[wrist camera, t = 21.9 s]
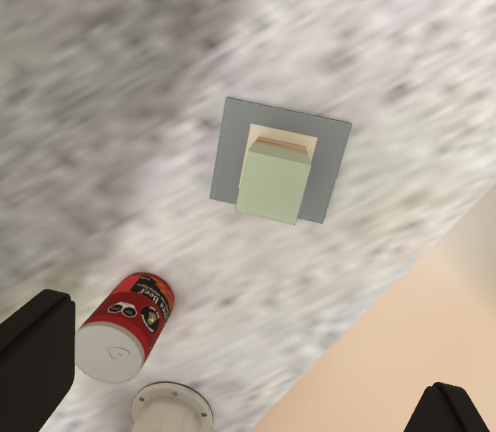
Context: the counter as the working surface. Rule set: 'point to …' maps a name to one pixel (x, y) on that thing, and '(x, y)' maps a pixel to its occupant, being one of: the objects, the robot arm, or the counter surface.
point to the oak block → (282, 145)
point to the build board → (287, 130)
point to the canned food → (123, 329)
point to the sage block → (273, 183)
